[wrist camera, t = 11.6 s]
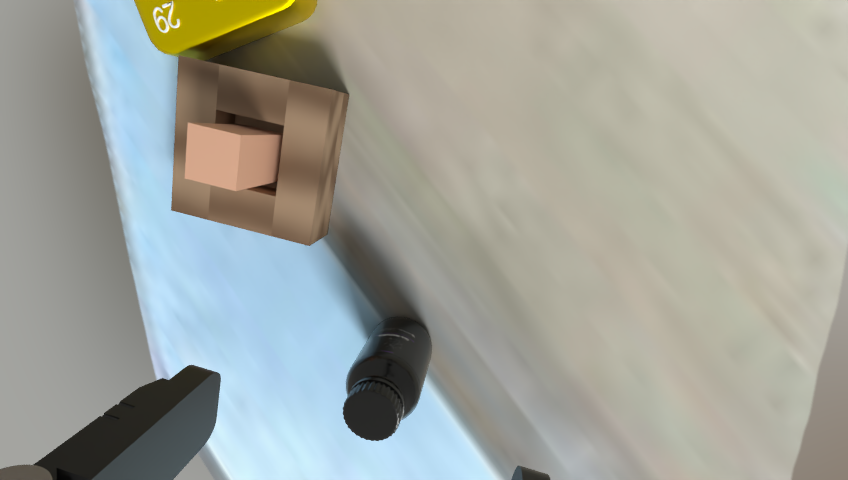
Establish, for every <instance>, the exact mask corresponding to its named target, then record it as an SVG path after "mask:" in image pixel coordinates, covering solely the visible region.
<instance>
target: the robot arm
mask: <svg viewBox="0 0 848 480" xmlns="http://www.w3.org/2000/svg"><path fill="white" fill-rule="evenodd" d="M220 381H221V377H220V374H219V373H217V372H214V371H211V370H207V369H204V368H201V367H198V366H194V365H189V366H187V367H185V368H184V369H183V370H182V371H180V372H179V373H178V374H176V375H175V376H174V377H173V378H171V379H170V380H167V379H163V378H162V379H159V380H157V381H154V382H152V383H149V384H147V385H144V386H142V387H139V388H138V389H137V390H135V391H134V392H132V393H131V394H130V395H128V396H127V397H126V398H124V399H123V400H121V401H120V403H119V404H118V405H115V406H113V407H112V408H111V409H109V410H108V411H106V412H105V413H104V415H103V416H102V417H101V416H100V417H98V418H97V419H96V420H94V421H93V422H91V423H90V424H89V425H87V426H86V427H85V428H84V429H82V430H81V431H79V432H78V433H76V434H75V435H74V436H72V437H71V438H70V439H68V440H67V441H65V442H64V443H63V444H61V445H60V446H59V447H57V448H56V449H54V450H53V451H52V452H50V453H49V454H48V455H46V456H45V457H44V458H42V459H41V460H39V461H38V462H37V463H35V464H34V465H17V466H10V467H6V468H2V469H0V480H173V479H174V478H175V477H176V476H177V475H178V474H179V472H180V471H181V470H182V469H183V468H184V467H185V466H186V465H187V464H188V463H189V461H190V460H191V459H192V458H193V457H194V456H195V455H196V454H197V453H198V451H199V450H200V449H201V448H202V447H203V446H204V445H205V443H206V442H207V441H208V439H209V437H210V435H211V433H212V431H213V429H214V426H215V423H216V418H217V409H218V399H219V390H220ZM512 480H550V477H549V475H548V474H545V473H541V472H538V471H535V470H531V469H528V468H525V467H522V466H517V468H516V469H515V472H514V474H513V477H512Z"/></svg>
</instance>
